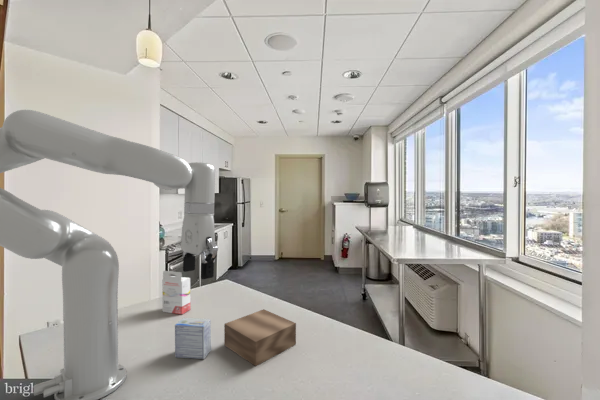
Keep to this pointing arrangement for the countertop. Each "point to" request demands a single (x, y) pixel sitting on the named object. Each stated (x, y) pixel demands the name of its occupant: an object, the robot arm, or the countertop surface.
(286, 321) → the block
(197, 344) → the medicine box
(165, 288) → the ink cartridge box
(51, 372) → the countertop surface
